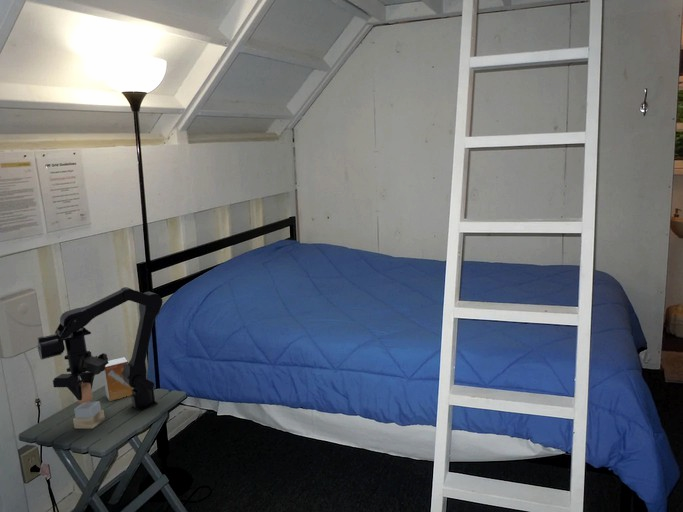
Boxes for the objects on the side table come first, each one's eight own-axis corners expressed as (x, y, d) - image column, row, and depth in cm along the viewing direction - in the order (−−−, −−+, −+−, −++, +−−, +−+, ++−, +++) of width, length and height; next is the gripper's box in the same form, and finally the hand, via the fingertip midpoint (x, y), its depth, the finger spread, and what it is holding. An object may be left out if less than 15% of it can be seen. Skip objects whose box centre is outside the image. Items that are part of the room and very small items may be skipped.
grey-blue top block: (85, 410, 181) (83, 401, 180) (101, 409, 180) (99, 401, 179) (75, 418, 175) (74, 409, 175) (91, 417, 175) (90, 408, 174)
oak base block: (87, 419, 182) (85, 409, 181) (104, 419, 181) (103, 409, 180) (74, 429, 175) (72, 418, 175) (93, 429, 174) (91, 418, 174)
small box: (109, 402, 194) (104, 367, 192) (106, 396, 199) (100, 362, 197) (133, 395, 198) (128, 360, 196) (129, 390, 204) (124, 356, 201)
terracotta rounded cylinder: (89, 395, 180) (87, 381, 179) (95, 399, 176) (92, 384, 176) (75, 400, 177) (72, 386, 176) (80, 404, 173) (78, 389, 173)
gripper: (80, 361, 163) (89, 410, 166) (116, 340, 181) (123, 384, 184) (47, 361, 165) (56, 410, 168) (86, 341, 183) (93, 385, 186)
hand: (84, 396), depth 176 cm, fingers closed on terracotta rounded cylinder, 4 cm apart
